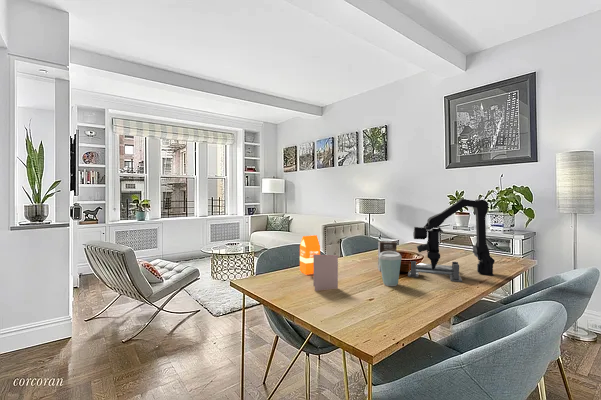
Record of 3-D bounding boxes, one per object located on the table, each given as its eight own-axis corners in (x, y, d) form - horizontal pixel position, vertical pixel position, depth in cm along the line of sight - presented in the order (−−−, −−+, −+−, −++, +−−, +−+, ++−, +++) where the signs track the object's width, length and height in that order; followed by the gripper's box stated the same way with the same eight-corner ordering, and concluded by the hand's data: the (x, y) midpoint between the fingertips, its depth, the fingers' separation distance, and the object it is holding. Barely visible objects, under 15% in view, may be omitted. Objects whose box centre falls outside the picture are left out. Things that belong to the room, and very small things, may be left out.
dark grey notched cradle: (460, 277, 157) (460, 261, 157) (462, 282, 149) (462, 265, 148) (408, 272, 166) (408, 257, 166) (407, 276, 158) (408, 261, 158)
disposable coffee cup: (403, 288, 139) (403, 255, 138) (378, 287, 141) (378, 254, 141) (400, 281, 149) (400, 251, 149) (377, 280, 152) (377, 250, 151)
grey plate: (456, 270, 170) (456, 269, 170) (458, 275, 160) (458, 274, 160) (410, 266, 179) (410, 265, 179) (409, 271, 169) (409, 270, 169)
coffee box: (379, 271, 168) (379, 242, 168) (377, 268, 174) (377, 240, 174) (396, 272, 167) (396, 242, 167) (394, 269, 174) (394, 241, 173)
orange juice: (299, 271, 169) (299, 235, 169) (313, 269, 173) (313, 234, 172) (305, 274, 162) (305, 237, 162) (320, 272, 166) (320, 236, 165)
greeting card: (338, 287, 141) (338, 255, 140) (335, 292, 133) (335, 258, 133) (313, 285, 144) (313, 253, 143) (310, 290, 136) (310, 257, 136)
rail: (456, 271, 166) (456, 266, 167) (457, 272, 164) (457, 266, 164) (410, 267, 175) (410, 262, 176) (409, 267, 172) (410, 262, 173)
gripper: (418, 236, 181) (417, 262, 181) (417, 241, 163) (417, 270, 164) (438, 237, 176) (438, 264, 177) (440, 242, 159) (440, 272, 160)
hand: (433, 267), depth 169 cm, fingers open, 6 cm apart
